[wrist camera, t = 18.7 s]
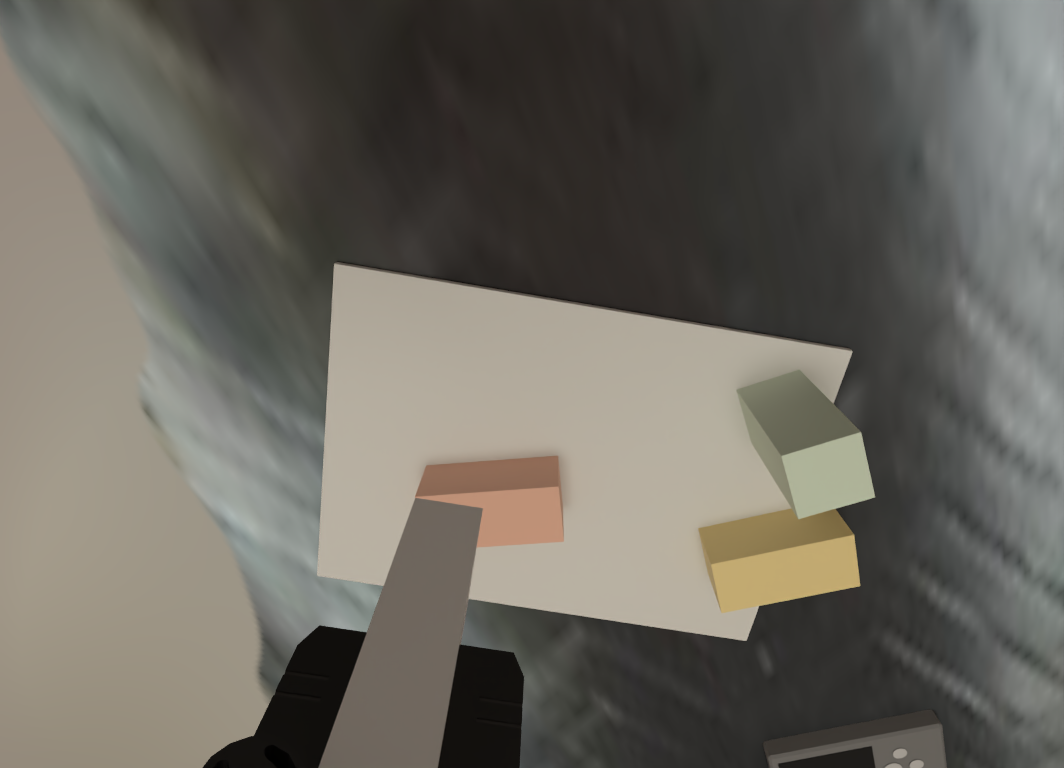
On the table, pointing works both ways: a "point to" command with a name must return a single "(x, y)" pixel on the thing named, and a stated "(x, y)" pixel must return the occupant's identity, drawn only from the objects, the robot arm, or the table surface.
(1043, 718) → the table surface
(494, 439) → the mat
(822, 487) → the domino block
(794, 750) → the electronic device
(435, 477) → the domino block
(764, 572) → the domino block
